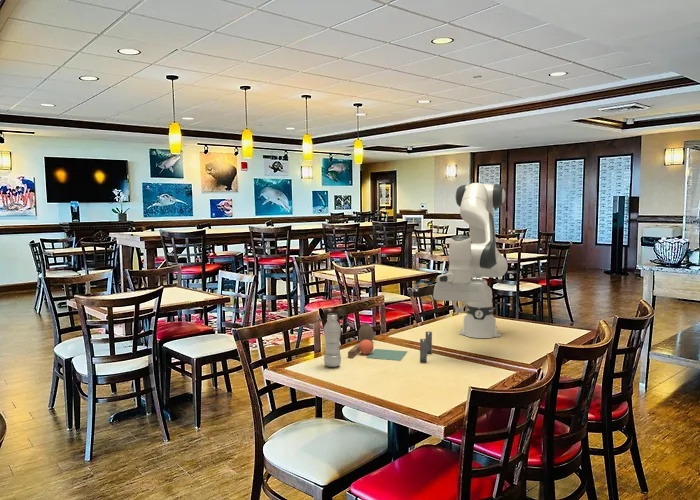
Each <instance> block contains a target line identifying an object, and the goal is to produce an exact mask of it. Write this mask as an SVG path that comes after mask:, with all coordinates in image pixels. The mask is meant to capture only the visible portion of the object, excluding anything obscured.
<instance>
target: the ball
mask: <svg viewBox="0 0 700 500" xmlns="http://www.w3.org/2000/svg"><path fill="white" fill-rule="evenodd" d="M374 347H375V346H374V343H373V341H370V340H363V341H361V343H360V344H359V349H360V353H362V354H364V355H369V354H370V353H371V352H372V351H373V350H374Z"/></svg>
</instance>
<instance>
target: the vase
mask: <svg viewBox="0 0 700 500" xmlns="http://www.w3.org/2000/svg"><path fill="white" fill-rule="evenodd" d="M374 338H375V333H374V329H373V327H372V326H371V325H370V323H369V322H363V323H362V325H361V326H360V327H359V330H358V340H359V342H360V341H363V340H370V341H371V342H373V340H374Z"/></svg>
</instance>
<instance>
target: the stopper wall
mask: <svg viewBox="0 0 700 500" xmlns="http://www.w3.org/2000/svg"><path fill="white" fill-rule="evenodd" d="M360 343H361V341H360V340H359V342H358V343H357V344H355V345H354V346H353V347H351V348H350V350H348V352H347V358H348V359H354V358H355V357H356V356H357V355H358V354H359V353H361V351H360V349H359V344H360Z"/></svg>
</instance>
